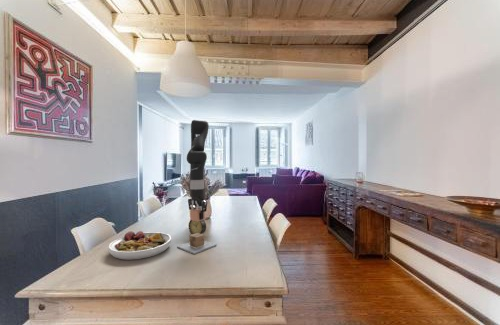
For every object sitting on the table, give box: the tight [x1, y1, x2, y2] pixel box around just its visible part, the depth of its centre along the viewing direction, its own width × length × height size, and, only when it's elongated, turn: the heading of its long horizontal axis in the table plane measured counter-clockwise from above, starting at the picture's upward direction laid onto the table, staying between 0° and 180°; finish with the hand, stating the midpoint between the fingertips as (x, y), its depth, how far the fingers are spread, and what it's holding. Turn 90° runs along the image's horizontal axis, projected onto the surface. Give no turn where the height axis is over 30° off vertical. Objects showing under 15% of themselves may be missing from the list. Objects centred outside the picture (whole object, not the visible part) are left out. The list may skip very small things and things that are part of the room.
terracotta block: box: [189, 209, 206, 221], centre depth 131 cm, size 6×6×6 cm
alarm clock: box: [188, 220, 207, 235], centre depth 148 cm, size 11×5×16 cm, turn 62°
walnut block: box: [189, 233, 205, 248], centre depth 131 cm, size 6×6×6 cm
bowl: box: [108, 230, 172, 261], centre depth 128 cm, size 30×30×8 cm
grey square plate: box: [176, 239, 217, 255], centre depth 131 cm, size 15×15×1 cm
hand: (197, 218), depth 131 cm, fingers closed on terracotta block, 5 cm apart
